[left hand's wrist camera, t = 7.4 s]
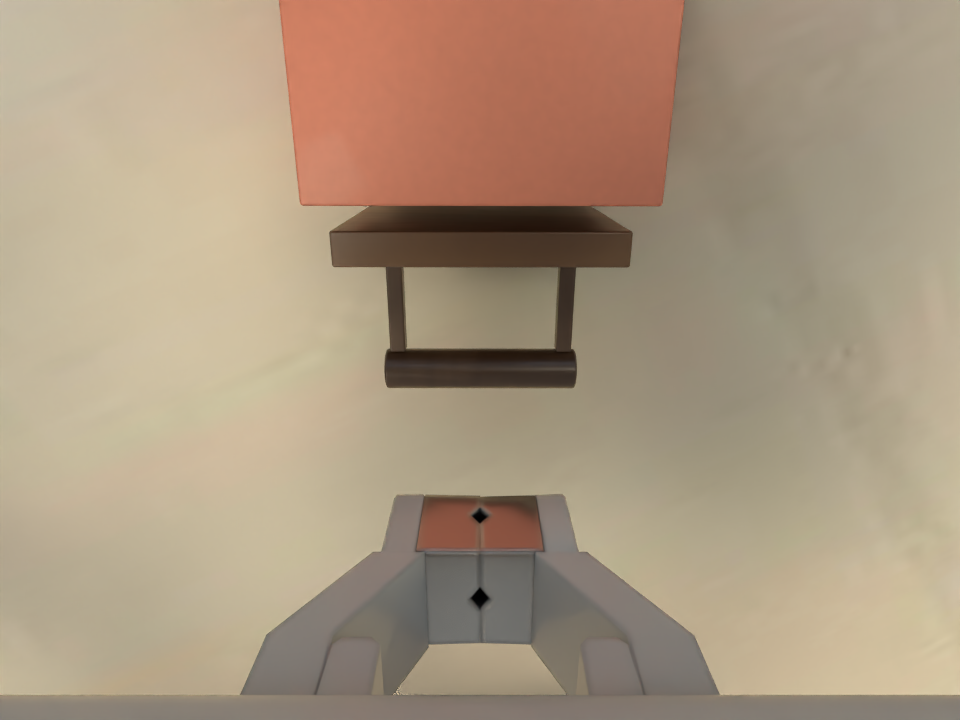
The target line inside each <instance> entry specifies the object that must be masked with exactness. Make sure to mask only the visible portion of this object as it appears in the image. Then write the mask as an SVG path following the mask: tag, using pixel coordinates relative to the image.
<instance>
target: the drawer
mask: <svg viewBox="0 0 960 720" xmlns="http://www.w3.org/2000/svg"><path fill="white" fill-rule="evenodd" d="M632 236H633V233H632V232H631V231H630V230H628V229H627V228H625V227H623V226H622V225H620V224H619V223H617V222H615V221H614V220H612V219H611V218H609V217H607V216H606V215H604V214H602V213H601V212H599V211H598V210H596V209H594V208H593V207H591V206H369V207H368V208H366V209H365V210H363V211H362V212H360V213H358V214H357V215H355V216H354V217H352V218H351V219H349V220H347V221H346V222H344V223H343V224H341V225H339V226H338V227H336V228H335V229H333V230H332V231H330V245H331V256H332V265H333V267H386V280H387V298H388V316H389V334H390V349H388V350H387V352H386V355H385V382H386V385H387V387H388V388H574V386H575V383H576V376H577V361H576V354H575V351H574V350H573V349H571V341H572V324H573V308H574V291H575V274H576V267H629V266H630V257H631V247H632ZM403 267H558V282H557V302H556V323H555V343H554V347H555V349H406V348H407V335H406V313H405V291H404V269H403Z"/></svg>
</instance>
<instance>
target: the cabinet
mask: <svg viewBox="0 0 960 720" xmlns="http://www.w3.org/2000/svg"><path fill="white" fill-rule="evenodd" d="M279 6H280V15H281V25H282V34H283V44H284V54H285V63H286V73H287V83H288V92H289V102H290V111H291V121H292V131H293V140H294V150H295V160H296V169H297V179H298V189H299V198H300V204H301V205H303V206H661V205H662V203H663V194H664V185H665V176H666V166H667V157H668V148H669V139H670V129H671V120H672V111H673V102H674V93H675V83H676V74H677V65H678V56H679V47H680V37H681V28H682V19H683V10H684V0H279Z"/></svg>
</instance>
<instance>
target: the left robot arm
mask: <svg viewBox="0 0 960 720" xmlns="http://www.w3.org/2000/svg"><path fill="white" fill-rule="evenodd" d="M459 643H500V644H532V648H533V649H534V651H535V652H536V653H537V655H538V656H539V657H540V659H541V660H542V661H543V663H544V664H545V665H546V667H547V668H548V669H549V671H550V672H551V673H552V675H553V676H554V677H555V679H556V680H557V681H558V683H559V684H560V685H561V687H562V688H563V689H564V691H565V692H566V693H567V695H393V694H394V693H395V691H396V690H397V689H398V687H399V686H400V685H401V683H402V682H403V681H404V679H405V678H406V677H407V675H408V674H409V673H410V671H411V670H412V669H413V667H414V666H415V665H416V663H417V662H418V661H419V659H420V658H421V657H422V655H423V654H424V653H425V651H426V650H427V649H428V644H459ZM0 720H960V695H720V694H719V692H718V690H717V687H716V685H715V683H714V680H713V678H712V676H711V673H710V671H709V669H708V666H707V664H706V662H705V659H704V657H703V655H702V652H701V650H700V648H699V646H698V643H697V641H696V639H695V636H694V635H693V634H692V633H690V632H689V631H688V630H686V629H685V628H684V627H683V626H681V625H680V624H679V623H677V622H676V621H675V620H674V619H672V618H671V617H670V616H668V615H667V614H666V613H665V612H663V611H662V610H661V609H659V608H658V607H657V606H656V605H654V604H653V603H652V602H651V601H649V600H648V599H647V598H645V597H644V596H643V595H642V594H640V593H639V592H638V591H636V590H635V589H634V588H633V587H631V586H630V585H629V584H627V583H626V582H625V581H624V580H622V579H621V578H620V577H618V576H617V575H616V574H615V573H613V572H612V571H611V570H609V569H608V568H607V567H606V566H604V565H603V564H602V563H600V562H599V561H598V560H597V559H595V558H594V557H593V556H591V555H590V554H589V553H588V552H579V551H578V547H577V543H576V539H575V535H574V531H573V527H572V523H571V518H570V514H569V510H568V506H567V502H566V498H565V496H564V495H563V494H552V495H532V496H487V497H480V496H466V495H425V496H424V495H423V494H415V495H397V496H396V497H395V498H394V501H393V506H392V510H391V514H390V518H389V522H388V526H387V530H386V535H385V539H384V543H383V547H382V551H381V552H372V553H371V554H370V555H369V556H367V557H366V558H365V559H363V560H362V561H361V562H360V563H358V564H357V565H356V566H354V567H353V568H352V569H351V570H349V571H348V572H347V573H345V574H344V575H343V576H341V577H340V578H339V579H338V580H336V581H335V582H334V583H332V584H331V585H330V586H329V587H327V588H326V589H325V590H323V591H322V592H321V593H320V594H318V595H317V596H316V597H314V598H313V599H312V600H311V601H309V602H308V603H307V604H305V605H304V606H303V607H301V608H300V609H299V610H298V611H296V612H295V613H294V614H292V615H291V616H290V617H289V618H287V619H286V620H285V621H283V622H282V623H281V624H280V625H278V626H277V627H276V628H274V629H273V630H272V631H271V632H269V633H268V634H267V635H266V637H265V639H264V642H263V644H262V646H261V648H260V651H259V653H258V655H257V658H256V660H255V662H254V664H253V667H252V669H251V671H250V674H249V676H248V678H247V680H246V683H245V685H244V687H243V690H242V692H241V694H240V695H0Z"/></svg>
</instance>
